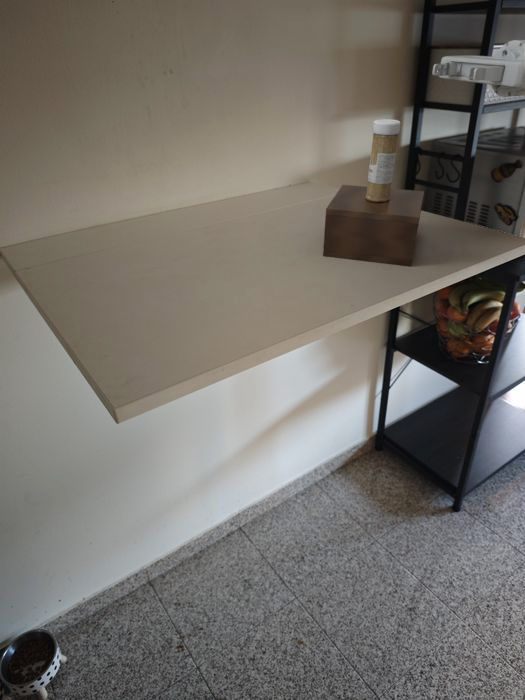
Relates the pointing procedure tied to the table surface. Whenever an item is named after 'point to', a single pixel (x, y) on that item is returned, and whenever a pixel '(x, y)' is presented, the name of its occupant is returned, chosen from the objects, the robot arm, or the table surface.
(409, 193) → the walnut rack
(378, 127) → the sprinkles bottle
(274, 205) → the table surface
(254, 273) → the table surface
